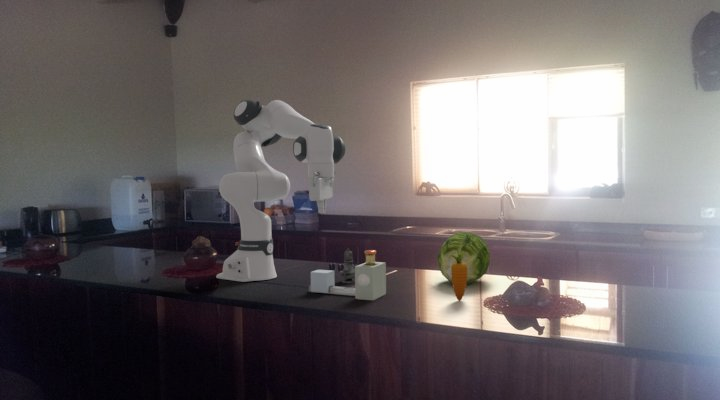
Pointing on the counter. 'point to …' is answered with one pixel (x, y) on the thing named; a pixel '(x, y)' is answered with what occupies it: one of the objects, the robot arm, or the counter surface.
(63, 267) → the counter surface
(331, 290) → the rail
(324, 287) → the block
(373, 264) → the copper knob
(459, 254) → the carrot
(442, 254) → the lettuce
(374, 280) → the block with square hole
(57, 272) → the counter surface
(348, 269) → the stone chess piece
